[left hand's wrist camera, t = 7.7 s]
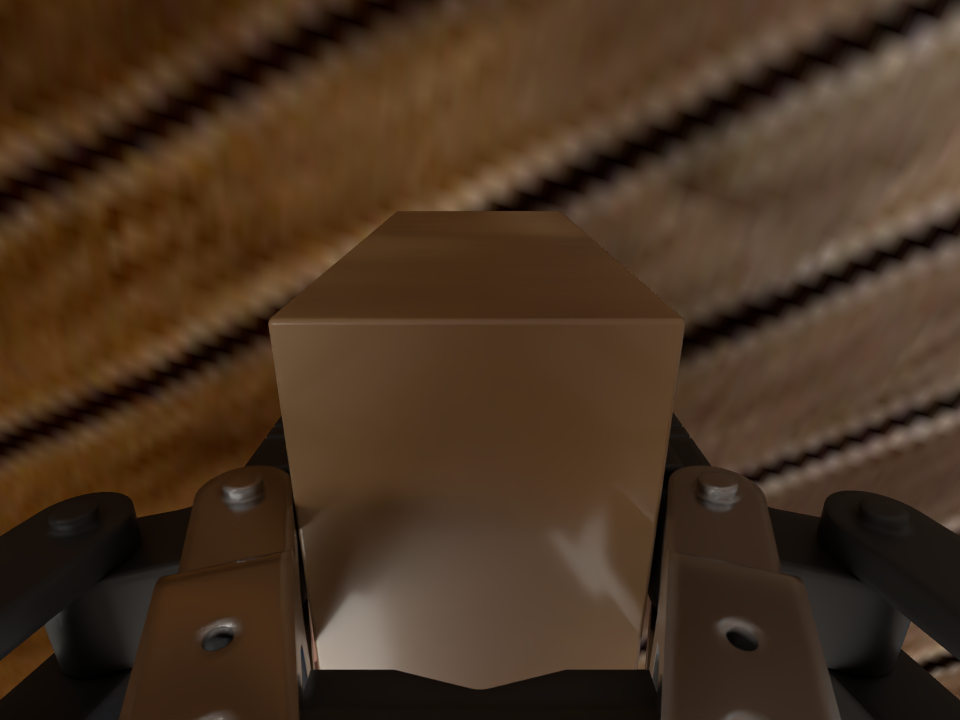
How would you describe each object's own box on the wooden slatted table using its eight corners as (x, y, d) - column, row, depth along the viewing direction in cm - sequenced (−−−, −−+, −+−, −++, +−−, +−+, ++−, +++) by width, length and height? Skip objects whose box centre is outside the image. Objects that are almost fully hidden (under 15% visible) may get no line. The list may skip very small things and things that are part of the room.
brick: (408, 440, 19) (329, 764, 9) (396, 211, 16) (264, 318, 6) (549, 440, 19) (625, 763, 9) (561, 211, 16) (688, 318, 6)
